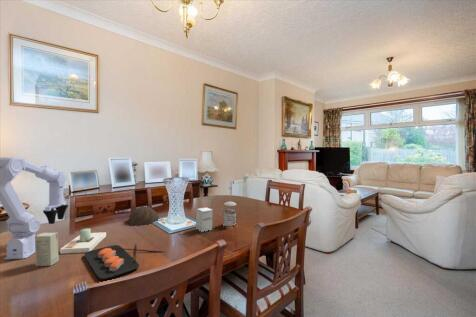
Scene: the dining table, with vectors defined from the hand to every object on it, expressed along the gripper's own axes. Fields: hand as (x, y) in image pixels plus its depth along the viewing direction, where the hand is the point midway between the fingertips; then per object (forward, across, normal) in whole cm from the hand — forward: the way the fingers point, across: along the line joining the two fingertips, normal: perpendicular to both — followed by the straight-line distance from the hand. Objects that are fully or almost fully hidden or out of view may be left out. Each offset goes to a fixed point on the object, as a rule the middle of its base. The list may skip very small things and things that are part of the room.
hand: (56, 221), depth 117 cm
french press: (+10, +13, -92) cm, 93 cm away
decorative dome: (+10, +27, -37) cm, 47 cm away
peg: (+9, -8, -17) cm, 21 cm away
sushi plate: (+10, -25, -42) cm, 50 cm away
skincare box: (+10, -27, -11) cm, 31 cm away
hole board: (+9, -8, -17) cm, 21 cm away
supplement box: (+10, +6, -76) cm, 77 cm away
